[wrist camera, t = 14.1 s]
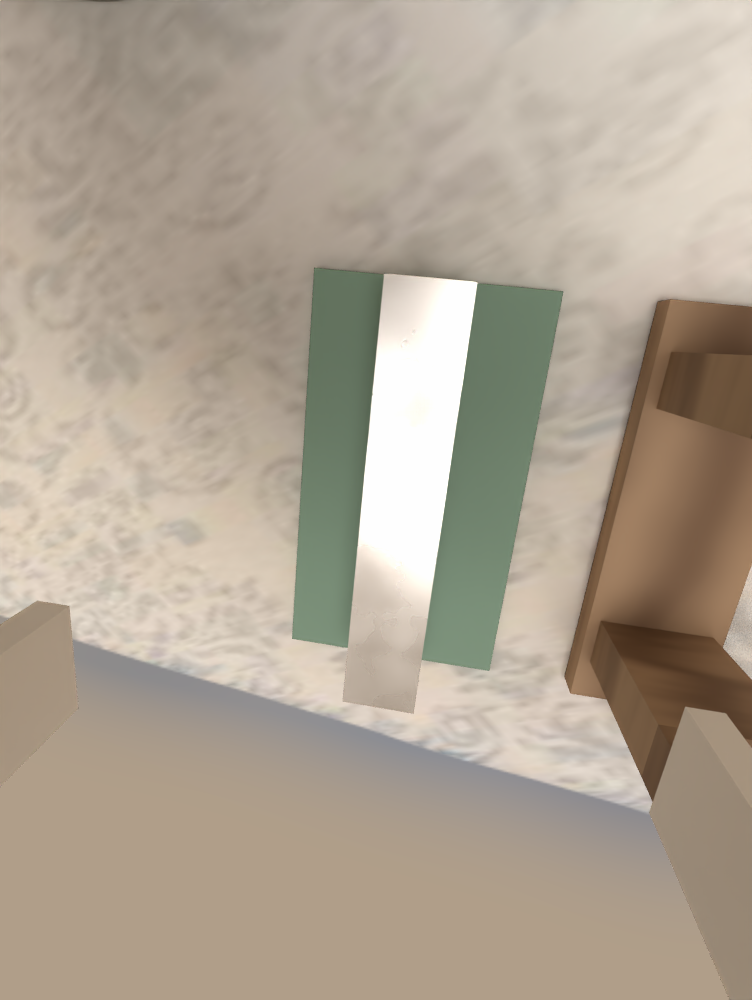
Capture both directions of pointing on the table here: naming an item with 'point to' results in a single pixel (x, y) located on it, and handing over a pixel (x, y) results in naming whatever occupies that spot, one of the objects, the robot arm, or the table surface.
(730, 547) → the rack
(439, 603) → the mat
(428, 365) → the rail
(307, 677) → the table surface
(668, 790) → the robot arm
